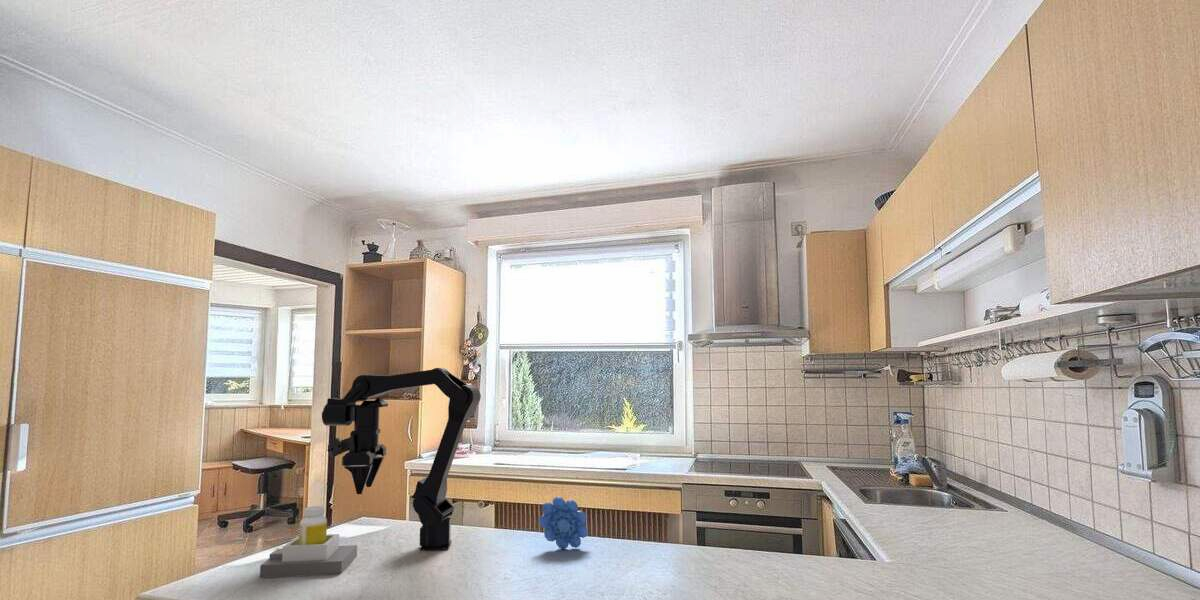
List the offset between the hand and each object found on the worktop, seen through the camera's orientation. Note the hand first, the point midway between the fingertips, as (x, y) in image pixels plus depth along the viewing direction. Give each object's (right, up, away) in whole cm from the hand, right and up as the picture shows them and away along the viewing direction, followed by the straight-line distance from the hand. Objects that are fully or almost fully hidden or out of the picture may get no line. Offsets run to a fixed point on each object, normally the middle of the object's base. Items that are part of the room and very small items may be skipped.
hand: (364, 490), depth 148 cm
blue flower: (+49, -12, -7) cm, 51 cm away
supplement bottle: (-5, -9, -17) cm, 20 cm away
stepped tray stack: (-5, -11, -17) cm, 21 cm away
